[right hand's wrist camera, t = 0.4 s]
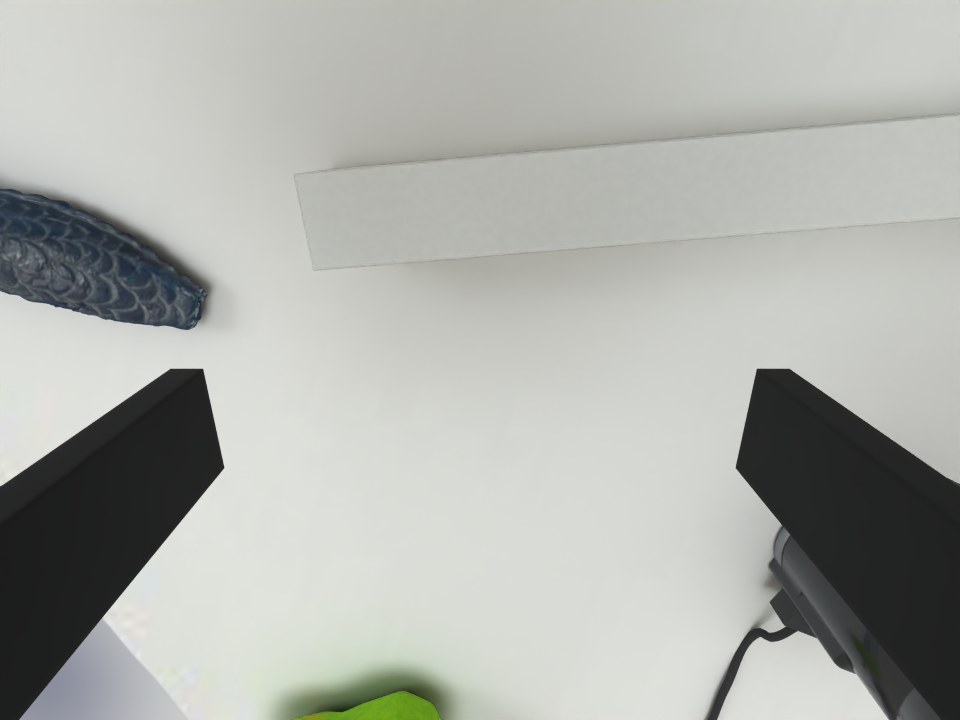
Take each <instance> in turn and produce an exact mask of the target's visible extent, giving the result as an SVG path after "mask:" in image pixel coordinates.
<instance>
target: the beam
mask: <svg viewBox="0 0 960 720" xmlns="http://www.w3.org/2000/svg"><path fill="white" fill-rule="evenodd" d="M294 179H295V184H296V189H297V194H298V199H299V204H300V208H301V213H302V218H303V223H304V228H305V233H306V237H307V242H308V247H309V252H310V257H311V262H312V266H313V270H314V271H315V270H327V269H339V268H351V267H364V266H376V265H388V264H400V263H413V262H425V261H437V260H450V259H462V258H474V257H486V256H499V255H511V254H523V253H535V252H548V251H560V250H572V249H584V248H597V247H609V246H621V245H633V244H646V243H658V242H670V241H682V240H695V239H707V238H719V237H731V236H744V235H756V234H768V233H780V232H793V231H805V230H817V229H829V228H842V227H854V226H866V225H878V224H891V223H903V222H915V221H927V220H940V219H952V218H960V113H958V114H947V115H935V116H924V117H913V118H901V119H890V120H879V121H868V122H856V123H845V124H834V125H822V126H811V127H800V128H789V129H777V130H766V131H755V132H743V133H732V134H721V135H710V136H698V137H687V138H676V139H664V140H653V141H642V142H631V143H619V144H608V145H597V146H586V147H574V148H563V149H552V150H540V151H529V152H518V153H507V154H495V155H484V156H473V157H461V158H450V159H439V160H428V161H416V162H405V163H394V164H382V165H371V166H360V167H349V168H337V169H328V170H321V171H314V172H306V173H299V174H294Z"/></svg>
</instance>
